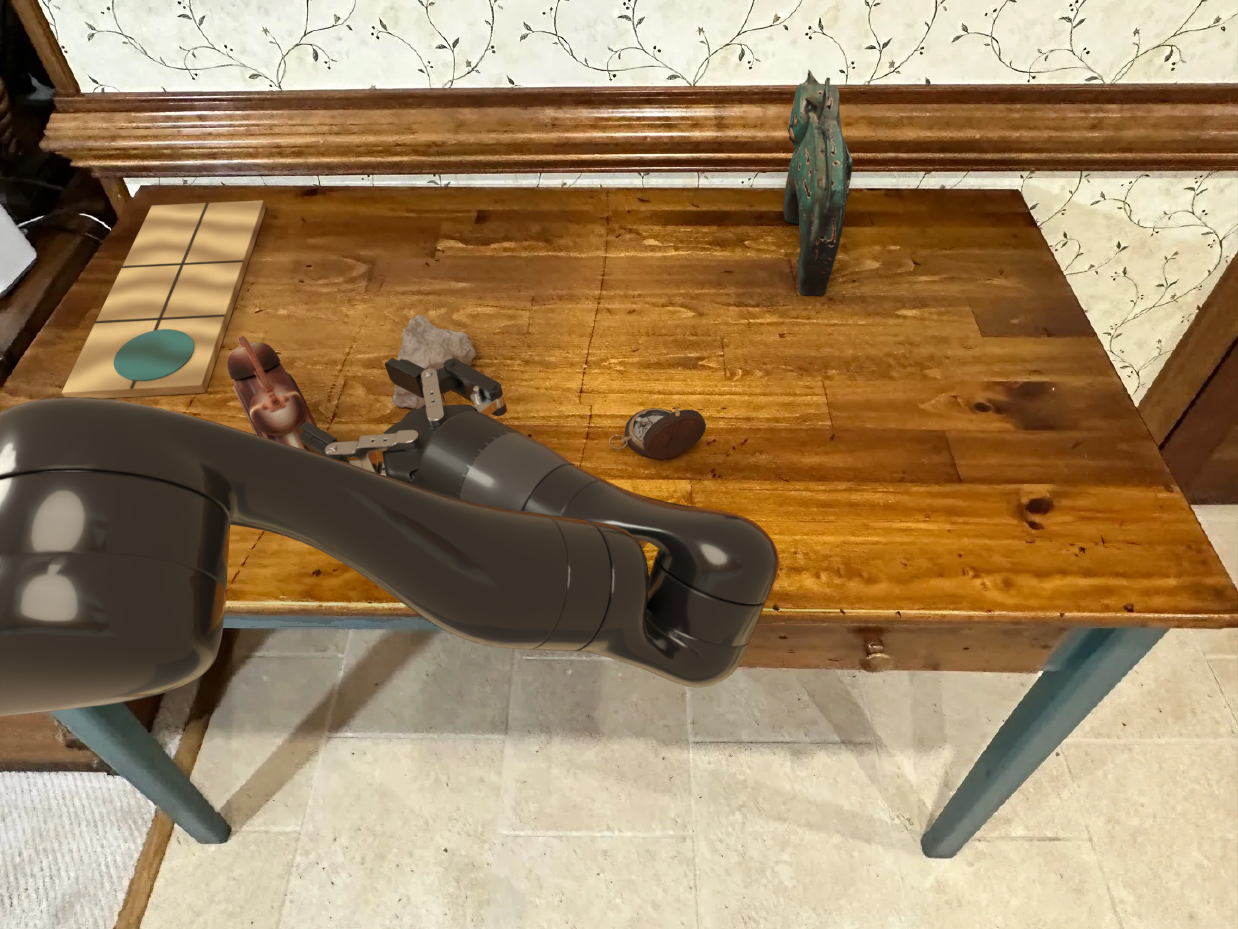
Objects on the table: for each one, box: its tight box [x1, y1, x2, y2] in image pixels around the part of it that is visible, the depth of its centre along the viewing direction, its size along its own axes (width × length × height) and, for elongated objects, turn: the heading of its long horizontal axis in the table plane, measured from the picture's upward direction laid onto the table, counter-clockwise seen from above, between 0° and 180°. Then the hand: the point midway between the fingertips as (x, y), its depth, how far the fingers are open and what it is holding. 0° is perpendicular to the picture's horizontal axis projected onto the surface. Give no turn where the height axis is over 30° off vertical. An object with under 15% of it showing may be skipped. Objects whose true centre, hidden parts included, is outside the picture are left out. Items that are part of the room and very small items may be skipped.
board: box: [61, 200, 267, 399], centre depth 101 cm, size 34×14×1 cm, turn 4°
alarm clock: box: [226, 335, 318, 450], centre depth 78 cm, size 11×5×15 cm, turn 33°
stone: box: [391, 314, 477, 409], centre depth 90 cm, size 10×8×6 cm
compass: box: [608, 406, 707, 460], centre depth 83 cm, size 8×8×7 cm
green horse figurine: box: [782, 69, 854, 296], centre depth 99 cm, size 20×6×20 cm, turn 178°
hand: (349, 400), depth 68 cm, fingers open, 8 cm apart
